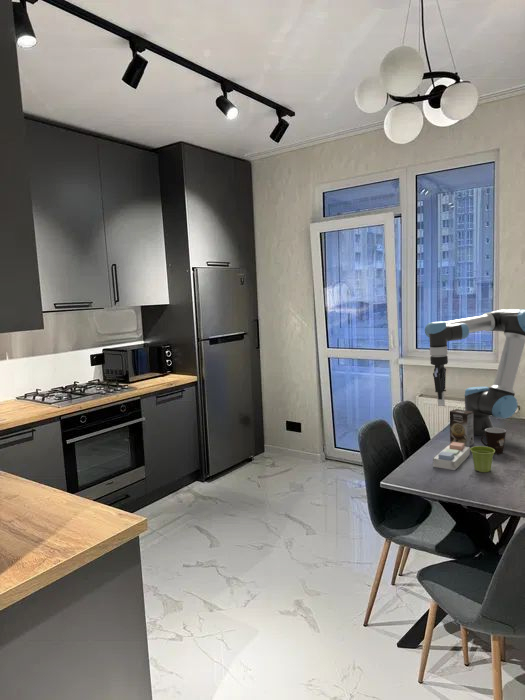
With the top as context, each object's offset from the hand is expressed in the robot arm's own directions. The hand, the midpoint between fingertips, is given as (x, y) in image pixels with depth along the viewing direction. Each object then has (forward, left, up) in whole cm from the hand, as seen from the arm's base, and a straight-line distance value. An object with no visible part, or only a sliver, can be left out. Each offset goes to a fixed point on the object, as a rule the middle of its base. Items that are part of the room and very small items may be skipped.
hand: (441, 405), depth 235 cm
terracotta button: (+6, +9, -19) cm, 21 cm away
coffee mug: (-5, +21, -21) cm, 30 cm away
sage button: (+14, +9, -20) cm, 25 cm away
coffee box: (-11, +6, -21) cm, 25 cm away
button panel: (+14, +9, -21) cm, 26 cm away
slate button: (+21, +9, -19) cm, 29 cm away
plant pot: (+19, +23, -21) cm, 36 cm away
